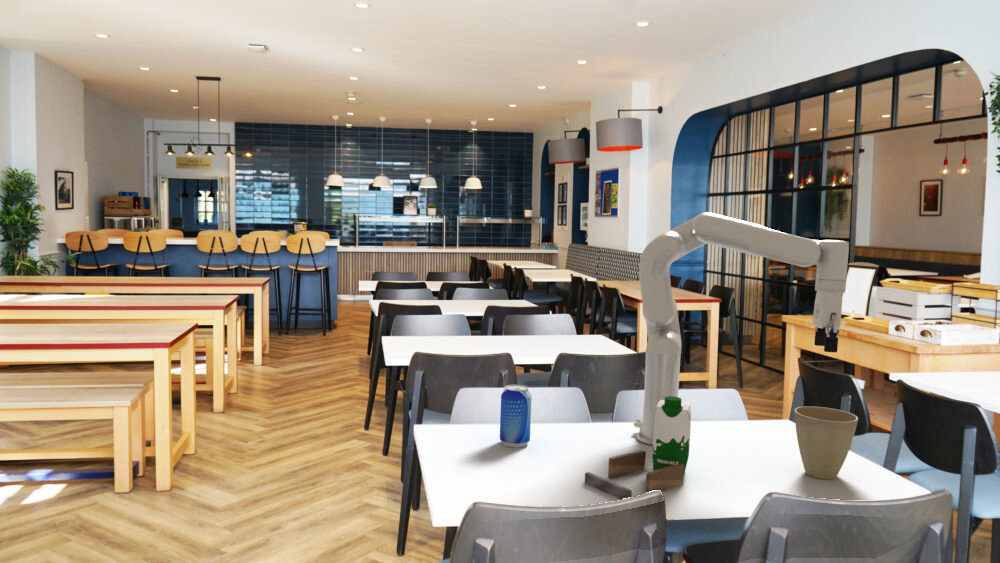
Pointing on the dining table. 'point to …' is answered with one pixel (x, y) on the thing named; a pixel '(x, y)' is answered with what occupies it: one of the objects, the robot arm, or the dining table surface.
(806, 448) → the plant pot
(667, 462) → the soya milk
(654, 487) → the wooden planks
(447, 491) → the dining table surface
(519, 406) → the beer can
